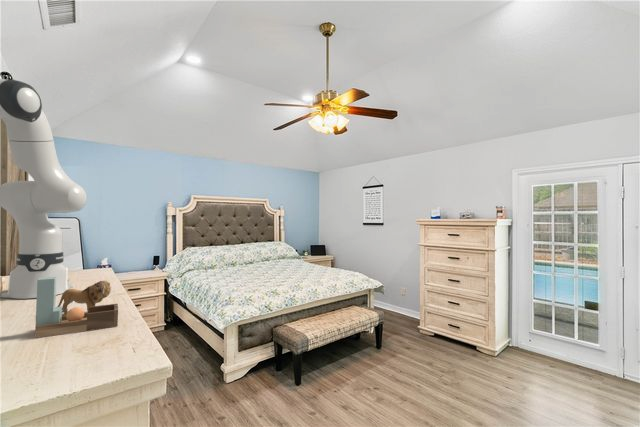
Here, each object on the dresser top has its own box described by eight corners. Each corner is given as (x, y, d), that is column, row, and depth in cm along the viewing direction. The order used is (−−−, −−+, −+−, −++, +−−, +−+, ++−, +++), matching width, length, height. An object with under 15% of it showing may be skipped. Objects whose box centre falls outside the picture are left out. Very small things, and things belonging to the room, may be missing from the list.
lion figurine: (113, 309, 91) (114, 278, 92) (105, 314, 86) (106, 282, 86) (56, 311, 88) (57, 279, 88) (44, 316, 83) (45, 283, 83)
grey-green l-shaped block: (38, 323, 73) (40, 277, 73) (61, 320, 76) (63, 275, 76) (34, 329, 70) (36, 280, 70) (58, 325, 72) (60, 278, 72)
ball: (66, 321, 76) (67, 306, 76) (84, 318, 78) (85, 305, 78) (64, 325, 73) (65, 310, 73) (83, 322, 75) (84, 308, 75)
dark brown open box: (88, 322, 80) (89, 306, 80) (117, 318, 83) (117, 303, 83) (86, 330, 74) (87, 314, 74) (117, 326, 77) (118, 310, 77)
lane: (40, 328, 74) (41, 318, 74) (88, 322, 79) (88, 312, 79) (35, 338, 69) (35, 326, 69) (86, 330, 74) (87, 320, 74)
